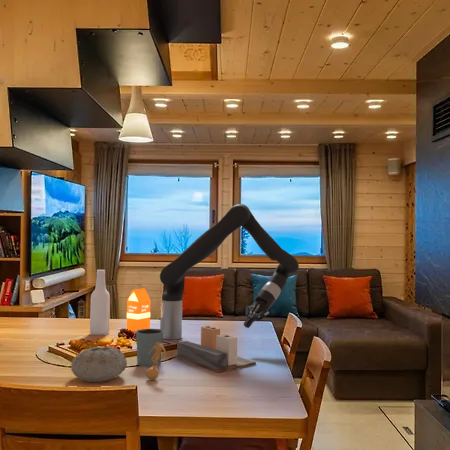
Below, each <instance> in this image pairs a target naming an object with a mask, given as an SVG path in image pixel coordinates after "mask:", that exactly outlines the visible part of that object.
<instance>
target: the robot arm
mask: <svg viewBox="0 0 450 450" xmlns="http://www.w3.org/2000/svg"><path fill="white" fill-rule="evenodd" d="M240 227H242V228H243V229H244V230H246V232H248V234H249V235H250V236H251V237H252V239H253V241H254V242H255V243H256V244H257V246H258V247H259V248H260V250H261V251H262V253H264V254H265V255H266V256H267V257H268V259H270V260H271V261H274V262H275V261H276V262H278V264H277V266H276V268H275V270H274V272H273V274H272V275H271V277H270V278H269V279H268V280H267V282H266V283H265V284H264V285H263V287H261V289H260V290H259V292H258V293H257V295H256V296H255V301H253V303H252V304H251V305H248V304H246V306H245V316H246V317H247V318H246V319H245V320H244V322H243V326H244V327H245V328H246V329H249V328H250V327H251V326H252V325H253V324H254V322H256V321H257V322H259V321H261V320H263V319H265V318H266V317H268V316H269V315H270V312H269V309H271V307H272V306H273V304H275V302H276V300H277V299H278V298H279V296H280V294H281V292H282V291H283V289H284V288H285V286H286V284H287V280H288V279H289V277H290V276H291V275H293V274H295V273H297V272H298V271H299V267H300V266H299V264H300V263H299V262H298V260H297V258H295V257H294V256H293V255H292V254H291V253H289V252H288V251H287V250H285V249H283V248H282V247H281V246H280V245H279V244H278V243H277V241H275V239H274V238H273V237H272V236H271V235H270V234H269V233H268V232H267V231H266V230H265V229H264V228H263V226H261V224H260V222H258V221H257V219H256V218H255V216H254V215H253V212H251V210H250V208H249V206H247V205H246V204H244V203H237V204H235V205H233V206H232V207H230V209H229V210H228V211H227V212H226V213H225V215H224V216H223V217H222V218H221V219H220V220H219V221H218V222H217V223H216V224H214V225H213V226H212V227H211V226H210V228H209V229H207V230H206V231H205V232H203V233H202V234H200V236H198V238H196V239H195V240H194V241H193V242H192V243H191V244H190V245H188V247H187V248H186V249H185V250H184V251H183V252H181V254H180V255H179V256H178V257H177V258H175V259H174V260H173V261H171V262H170V263H168V264H167V265H165V266H164V267H163V268H162V269H161V271H160V274H159V279H160V282H161V283H162V284H163V285H164V286H165V289H164V291H163V293H162V295H161V304H162V317H161V316H160V319H159V320H160V321H159V323H160V324H159V325H160V326H159V328H160V330H163V340H170V341H171V340H180V339H181V338H182V335H183V331H182V330H183V329H182V328H183V296H184V293H185V277H186V275H185V273H187V272H188V271H189V270H190V269H191V268H193V267H194V266H196V265H198V264H199V263H201V262H203V261H204V260H205V259H207V258H208V257H209V256H210V255H212V254H213V253H214V252H215V251H216V250H217V249H218V248H219V247H220V246H221V245H222V243H224V241H225V240H226V238H227V237H229V236H230V235H231V234H232V233H234V231H236V230H237V229H239V228H240Z"/></svg>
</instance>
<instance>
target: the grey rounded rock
mask: <svg viewBox="0 0 450 450" xmlns="http://www.w3.org/2000/svg"><path fill="white" fill-rule="evenodd" d="M127 361H128V360H127V358H126V356H125V355H124V353H123V352H122V350H121V349H119V348H116V346H115V347H112V346H93V347H89V348H86V349H84V350H82V351H81V352H79V353H78V354H76V355H75V357H74V358H73V359H72V360H71V365H70V369H71V372H72V374H74V376H75V377H76V378H78V379H79V380H81V381H83V382H87V383H95V382H100V383H101V382H106V381H110V380H113V379H115V378H117V377H118V376H120V375H121V374H122V373H123V372H124V371H125V370H126V368H127V367H128V362H127Z"/></svg>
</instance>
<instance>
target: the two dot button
mask: <svg viewBox="0 0 450 450" xmlns="http://www.w3.org/2000/svg"><path fill="white" fill-rule="evenodd" d="M216 335H221V328H219V327H215V326H211V325H206V326H201V327H200V345H202V346H205V347H208V348H212V349H215V350H216Z"/></svg>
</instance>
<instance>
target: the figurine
mask: <svg viewBox="0 0 450 450" xmlns="http://www.w3.org/2000/svg"><path fill="white" fill-rule="evenodd" d="M154 348H155V349H156V353H154V356H153V357H152V358H151V360H152V362H153V363H154V364H153V365H152V367H148V369H147V371H146V374H145V375H146V378H147V379H148V380H149V381H155V380H157V379H158V377H159V370H158V369H157V367H158V366H159V365H158V362H157V360H158V359H159V357H160V352H161V353H162V351H163V356H162V358H161V361H165V359H166V358H165V357H166V352H167V351H166V349H165V347H164V344H163V343H162V344H160V343H158V342H157V343H156V346H154V347H153V348H152V349H151V350H150V352H151V351H152V350H153V349H154ZM150 352H149V353H150ZM148 355H149V354H148ZM154 359H155V361H154ZM155 362H156V366H154V365H155ZM157 365H158V366H157Z"/></svg>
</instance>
